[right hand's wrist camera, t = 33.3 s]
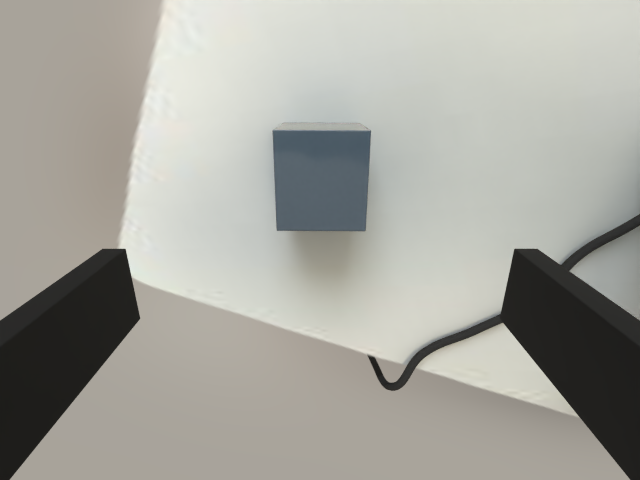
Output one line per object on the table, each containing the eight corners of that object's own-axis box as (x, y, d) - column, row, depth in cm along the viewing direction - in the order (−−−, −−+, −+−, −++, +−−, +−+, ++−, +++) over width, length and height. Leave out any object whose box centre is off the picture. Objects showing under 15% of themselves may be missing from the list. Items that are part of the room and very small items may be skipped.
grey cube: (356, 204, 36) (365, 231, 29) (285, 204, 36) (276, 230, 29) (360, 123, 33) (371, 130, 26) (282, 122, 33) (272, 129, 26)
